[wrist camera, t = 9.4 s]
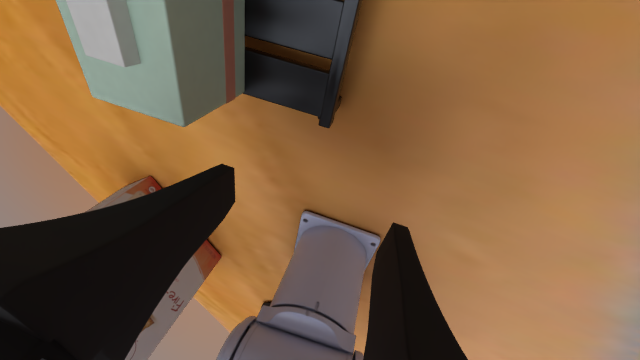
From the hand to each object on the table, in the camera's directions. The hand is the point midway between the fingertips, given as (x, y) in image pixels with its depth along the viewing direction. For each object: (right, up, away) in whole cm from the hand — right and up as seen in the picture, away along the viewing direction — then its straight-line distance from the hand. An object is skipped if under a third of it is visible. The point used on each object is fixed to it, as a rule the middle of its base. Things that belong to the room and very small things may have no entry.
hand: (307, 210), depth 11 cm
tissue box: (-6, +11, +3) cm, 12 cm away
